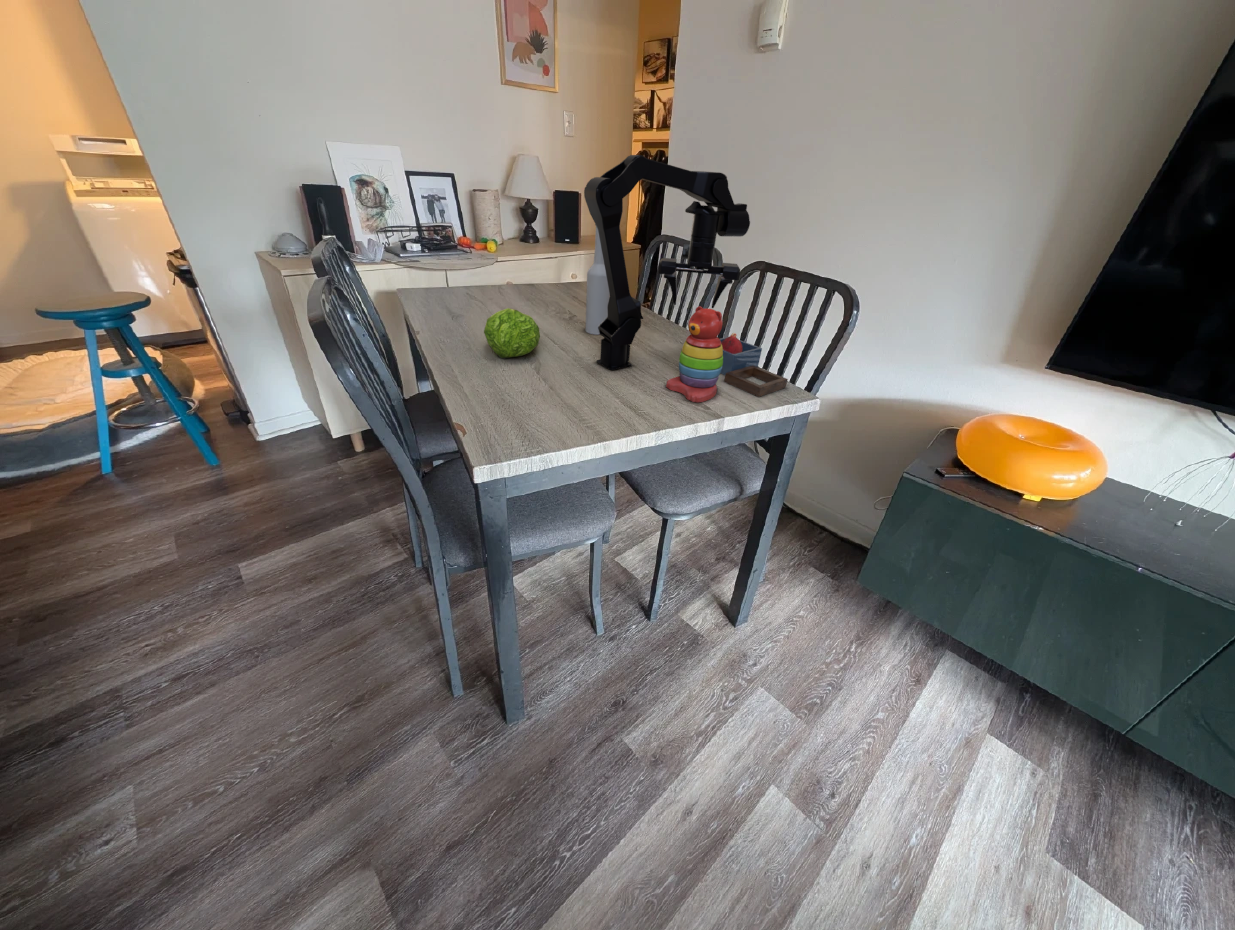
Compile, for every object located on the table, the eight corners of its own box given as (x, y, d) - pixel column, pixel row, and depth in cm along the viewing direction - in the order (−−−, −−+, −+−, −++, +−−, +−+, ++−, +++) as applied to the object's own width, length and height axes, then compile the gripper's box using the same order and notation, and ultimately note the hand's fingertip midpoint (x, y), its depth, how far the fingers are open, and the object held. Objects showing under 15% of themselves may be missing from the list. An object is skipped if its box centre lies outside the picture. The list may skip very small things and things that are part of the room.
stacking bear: (661, 386, 106) (671, 304, 96) (694, 377, 111) (706, 300, 102) (695, 404, 99) (709, 318, 89) (728, 394, 104) (745, 312, 94)
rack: (758, 397, 104) (760, 387, 103) (724, 381, 110) (725, 372, 109) (785, 387, 109) (787, 379, 108) (751, 373, 116) (753, 365, 114)
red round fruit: (733, 370, 115) (739, 338, 111) (712, 364, 118) (717, 333, 114) (743, 364, 119) (749, 333, 115) (722, 358, 122) (728, 328, 118)
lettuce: (534, 313, 131) (494, 285, 124) (552, 335, 111) (506, 303, 104) (511, 348, 134) (470, 323, 127) (524, 376, 114) (477, 348, 107)
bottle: (607, 335, 135) (612, 226, 120) (584, 333, 135) (586, 224, 120) (608, 328, 140) (613, 223, 125) (586, 327, 140) (588, 221, 125)
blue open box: (730, 377, 113) (734, 355, 110) (698, 363, 119) (702, 342, 116) (757, 369, 118) (762, 348, 115) (725, 356, 125) (729, 336, 122)
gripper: (741, 235, 114) (729, 301, 122) (664, 229, 115) (657, 295, 124) (746, 241, 104) (732, 312, 113) (662, 234, 106) (655, 305, 114)
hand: (693, 306), depth 116 cm, fingers open, 9 cm apart
